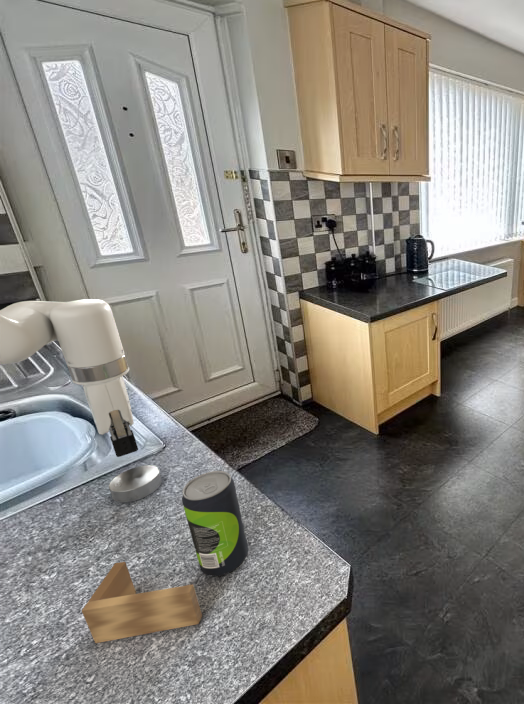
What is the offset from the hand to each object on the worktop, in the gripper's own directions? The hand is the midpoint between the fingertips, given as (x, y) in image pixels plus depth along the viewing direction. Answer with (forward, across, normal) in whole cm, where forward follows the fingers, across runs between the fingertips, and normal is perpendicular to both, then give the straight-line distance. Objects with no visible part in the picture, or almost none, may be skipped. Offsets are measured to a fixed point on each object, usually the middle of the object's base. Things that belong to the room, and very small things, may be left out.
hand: (127, 451), depth 82 cm
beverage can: (+4, +36, +6) cm, 37 cm away
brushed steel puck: (+4, +8, 0) cm, 9 cm away
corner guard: (+4, +38, -2) cm, 38 cm away
